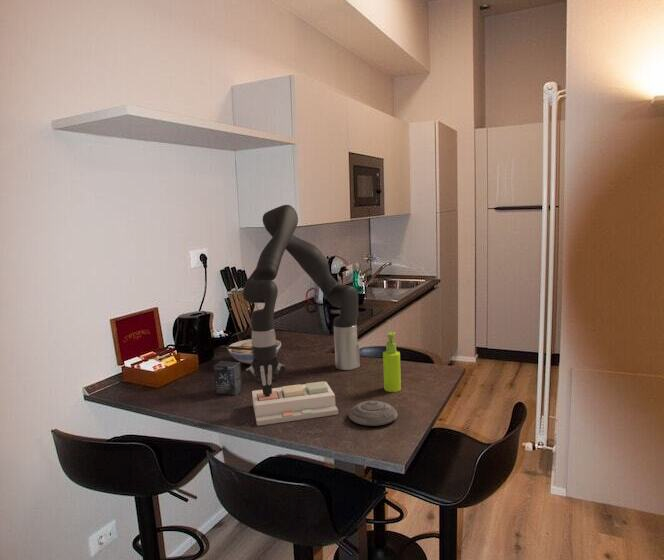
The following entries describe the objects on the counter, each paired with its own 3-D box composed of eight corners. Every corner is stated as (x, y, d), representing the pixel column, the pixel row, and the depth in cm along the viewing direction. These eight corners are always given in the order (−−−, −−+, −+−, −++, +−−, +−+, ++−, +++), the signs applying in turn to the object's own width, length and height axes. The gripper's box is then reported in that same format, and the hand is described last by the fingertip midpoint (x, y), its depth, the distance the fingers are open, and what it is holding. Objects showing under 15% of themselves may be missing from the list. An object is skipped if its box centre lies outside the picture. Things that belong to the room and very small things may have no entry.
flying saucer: (372, 405, 163) (371, 388, 162) (408, 418, 151) (407, 401, 151) (338, 419, 153) (337, 402, 152) (373, 434, 142) (372, 416, 141)
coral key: (276, 399, 164) (276, 390, 164) (278, 406, 158) (278, 397, 158) (258, 402, 163) (257, 393, 162) (259, 409, 157) (259, 400, 157)
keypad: (326, 395, 172) (326, 381, 171) (338, 414, 156) (337, 399, 155) (253, 405, 166) (252, 390, 166) (257, 425, 150) (255, 410, 150)
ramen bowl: (294, 356, 218) (293, 338, 217) (266, 373, 198) (265, 353, 196) (246, 352, 228) (244, 335, 227) (215, 368, 208) (213, 348, 207)
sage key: (324, 389, 167) (323, 381, 167) (327, 396, 162) (327, 387, 161) (306, 392, 166) (305, 383, 166) (309, 398, 160) (309, 389, 160)
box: (215, 394, 178) (213, 365, 177) (223, 388, 183) (221, 360, 182) (235, 395, 176) (232, 366, 174) (242, 389, 181) (240, 361, 180)
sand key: (300, 392, 166) (299, 384, 165) (303, 399, 160) (303, 390, 160) (282, 395, 164) (281, 386, 164) (284, 402, 159) (284, 392, 158)
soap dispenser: (403, 385, 178) (401, 330, 175) (399, 392, 171) (397, 336, 168) (386, 384, 180) (385, 330, 177) (382, 391, 173) (380, 335, 170)
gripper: (283, 338, 163) (286, 388, 165) (242, 342, 160) (245, 393, 162) (286, 343, 155) (289, 397, 158) (243, 348, 153) (247, 402, 155)
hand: (267, 395), depth 160 cm, fingers closed
